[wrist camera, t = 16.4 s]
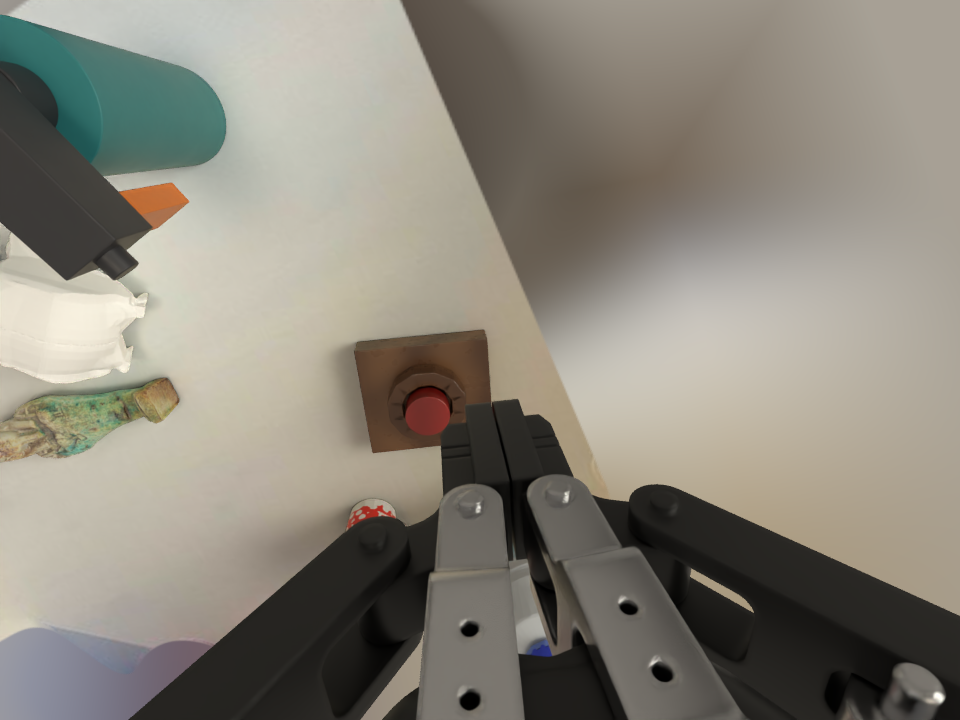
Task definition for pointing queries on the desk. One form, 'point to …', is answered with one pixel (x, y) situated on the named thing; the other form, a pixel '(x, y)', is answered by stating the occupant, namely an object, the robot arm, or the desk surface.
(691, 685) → the robot arm
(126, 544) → the desk surface
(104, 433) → the figurine
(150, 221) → the spray trigger
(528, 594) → the bottle
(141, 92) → the spray bottle
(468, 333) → the button box
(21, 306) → the penguin
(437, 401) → the button
